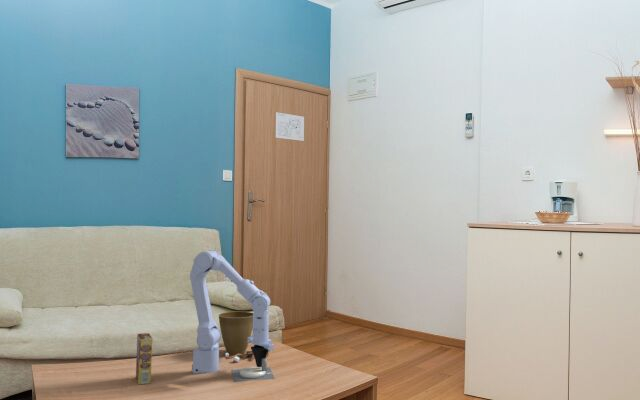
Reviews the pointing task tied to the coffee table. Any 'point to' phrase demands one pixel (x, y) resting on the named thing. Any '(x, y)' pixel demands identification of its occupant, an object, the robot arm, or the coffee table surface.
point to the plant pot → (236, 331)
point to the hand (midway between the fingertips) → (260, 366)
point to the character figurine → (242, 356)
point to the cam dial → (254, 371)
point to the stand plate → (238, 378)
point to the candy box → (144, 358)
